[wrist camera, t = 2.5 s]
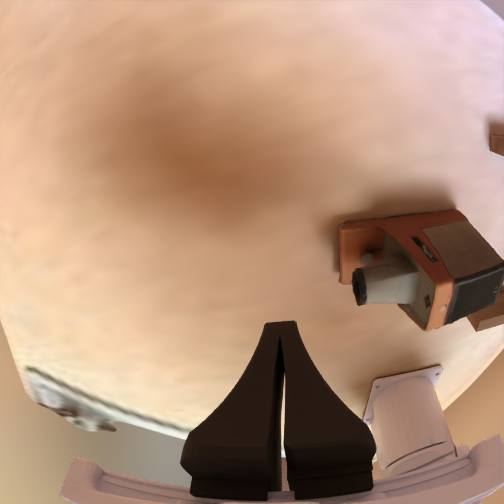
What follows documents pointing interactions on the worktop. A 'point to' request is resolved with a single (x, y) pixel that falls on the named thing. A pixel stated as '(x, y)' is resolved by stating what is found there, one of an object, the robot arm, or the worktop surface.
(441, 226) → the electronic device
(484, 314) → the cradle
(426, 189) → the worktop surface
